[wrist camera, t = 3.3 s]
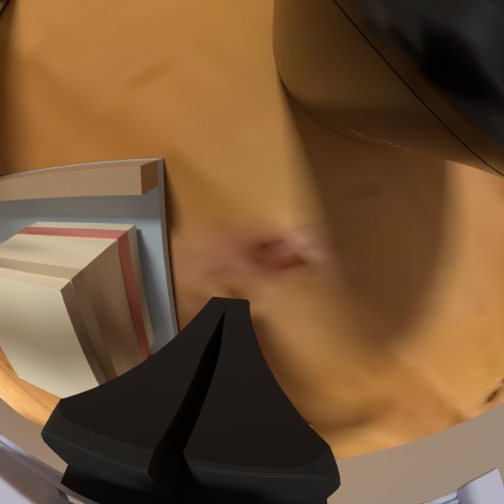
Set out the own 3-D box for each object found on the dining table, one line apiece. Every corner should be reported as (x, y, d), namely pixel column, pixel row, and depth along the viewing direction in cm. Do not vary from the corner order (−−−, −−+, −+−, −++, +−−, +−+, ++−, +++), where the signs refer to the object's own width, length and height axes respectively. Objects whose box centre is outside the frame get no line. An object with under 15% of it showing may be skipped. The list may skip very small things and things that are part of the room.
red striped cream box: (155, 339, 13) (118, 419, 9) (64, 320, 13) (19, 377, 9) (136, 223, 11) (60, 288, 6) (36, 221, 11) (-35, 266, 6)
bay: (183, 362, 15) (166, 412, 12) (-10, 309, 16) (-33, 332, 13) (163, 158, 10) (118, 173, 7) (-44, 187, 11) (-76, 202, 8)
